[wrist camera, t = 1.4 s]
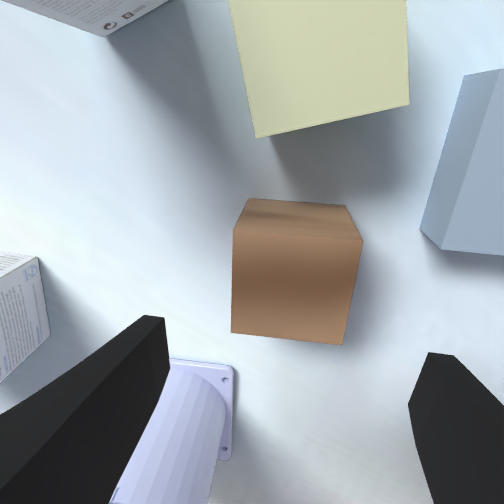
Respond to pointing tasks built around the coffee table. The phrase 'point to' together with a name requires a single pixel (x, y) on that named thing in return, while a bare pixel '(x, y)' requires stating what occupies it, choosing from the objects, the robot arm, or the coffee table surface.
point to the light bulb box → (20, 310)
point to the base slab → (471, 172)
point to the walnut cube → (293, 270)
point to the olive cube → (320, 60)
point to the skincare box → (91, 12)
